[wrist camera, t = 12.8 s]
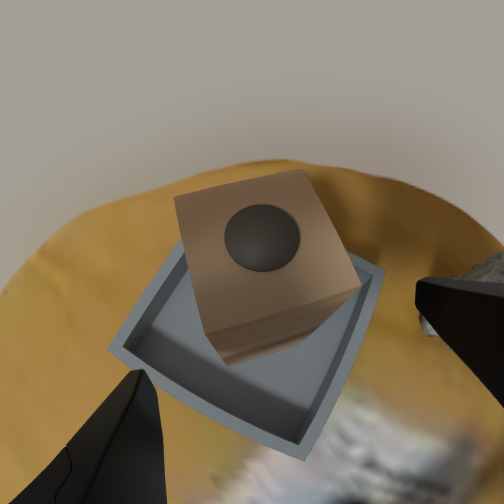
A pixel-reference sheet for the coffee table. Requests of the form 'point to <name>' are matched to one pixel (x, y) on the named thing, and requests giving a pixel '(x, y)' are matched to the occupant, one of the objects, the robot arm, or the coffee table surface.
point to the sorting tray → (250, 372)
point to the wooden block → (263, 263)
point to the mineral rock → (491, 270)
